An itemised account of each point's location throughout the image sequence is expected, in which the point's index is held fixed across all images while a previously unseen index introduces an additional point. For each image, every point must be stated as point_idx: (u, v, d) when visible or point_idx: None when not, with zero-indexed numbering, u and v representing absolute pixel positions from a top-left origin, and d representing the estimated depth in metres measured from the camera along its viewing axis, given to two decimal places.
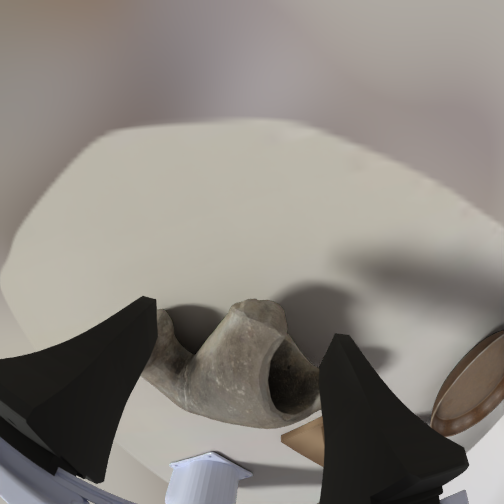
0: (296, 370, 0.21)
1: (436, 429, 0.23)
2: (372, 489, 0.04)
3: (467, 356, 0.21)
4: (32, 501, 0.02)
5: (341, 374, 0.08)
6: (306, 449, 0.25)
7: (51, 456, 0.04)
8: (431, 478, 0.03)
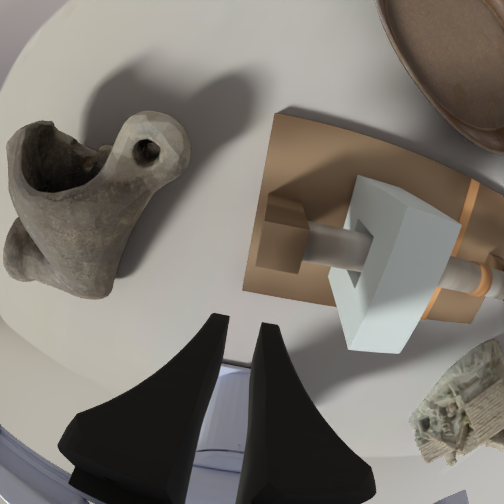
0: None
1: (484, 142, 0.12)
2: (253, 492, 0.04)
3: None
4: (32, 501, 0.02)
5: (258, 364, 0.08)
6: (294, 286, 0.19)
7: None
8: (303, 497, 0.03)
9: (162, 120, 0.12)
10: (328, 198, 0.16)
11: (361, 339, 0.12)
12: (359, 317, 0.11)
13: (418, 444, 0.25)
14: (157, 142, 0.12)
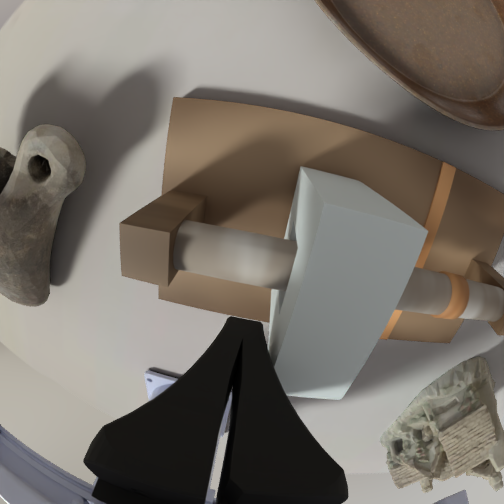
0: None
1: (458, 114, 0.10)
2: (224, 488, 0.04)
3: None
4: (32, 501, 0.02)
5: (239, 361, 0.08)
6: (212, 296, 0.16)
7: None
8: (266, 495, 0.03)
9: (49, 134, 0.09)
10: (239, 192, 0.14)
11: (280, 382, 0.09)
12: (275, 355, 0.09)
13: (389, 467, 0.22)
14: (45, 157, 0.10)
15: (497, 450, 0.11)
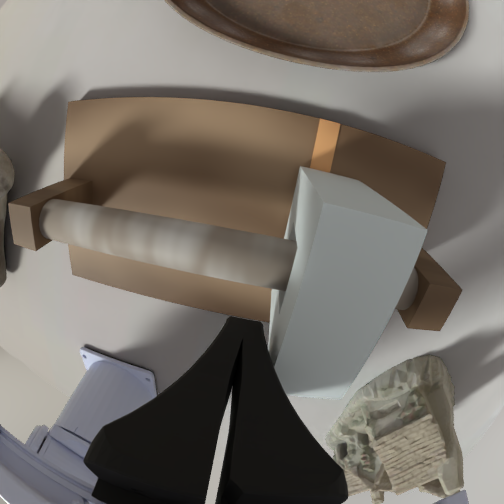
0: None
1: (331, 61, 0.10)
2: (224, 488, 0.04)
3: None
4: (32, 501, 0.02)
5: (239, 361, 0.08)
6: (108, 271, 0.16)
7: None
8: (266, 495, 0.03)
9: None
10: (114, 174, 0.14)
11: (280, 382, 0.09)
12: (275, 355, 0.09)
13: None
14: None
15: (448, 469, 0.11)
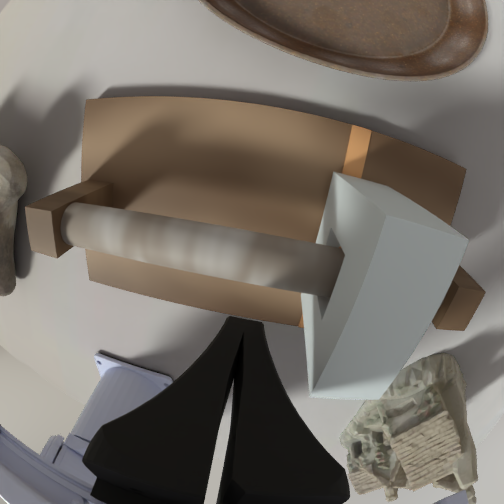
0: None
1: (365, 68, 0.10)
2: (225, 488, 0.04)
3: None
4: (32, 501, 0.02)
5: (240, 361, 0.08)
6: (129, 277, 0.16)
7: None
8: (268, 495, 0.03)
9: None
10: (138, 177, 0.14)
11: (326, 386, 0.09)
12: (322, 361, 0.09)
13: (350, 471, 0.22)
14: None
15: (463, 464, 0.11)
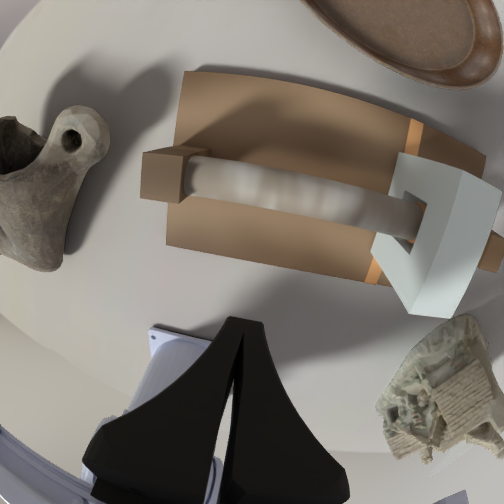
0: None
1: (421, 77, 0.12)
2: (225, 488, 0.04)
3: None
4: (32, 501, 0.02)
5: (240, 361, 0.08)
6: (214, 239, 0.19)
7: None
8: (268, 495, 0.03)
9: (83, 112, 0.12)
10: (238, 144, 0.16)
11: (421, 302, 0.11)
12: (419, 279, 0.11)
13: (386, 437, 0.24)
14: (78, 131, 0.12)
15: (496, 409, 0.13)
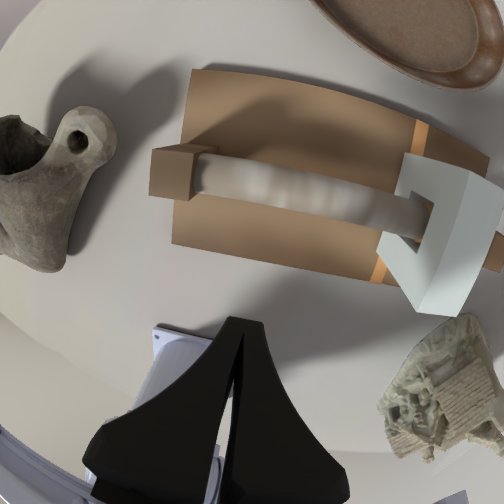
0: None
1: (428, 79, 0.12)
2: (225, 488, 0.04)
3: None
4: (32, 501, 0.02)
5: (240, 361, 0.08)
6: (220, 238, 0.19)
7: None
8: (268, 495, 0.03)
9: (90, 113, 0.12)
10: (246, 142, 0.16)
11: (428, 300, 0.11)
12: (427, 278, 0.11)
13: (388, 436, 0.24)
14: (85, 132, 0.12)
15: (498, 408, 0.13)
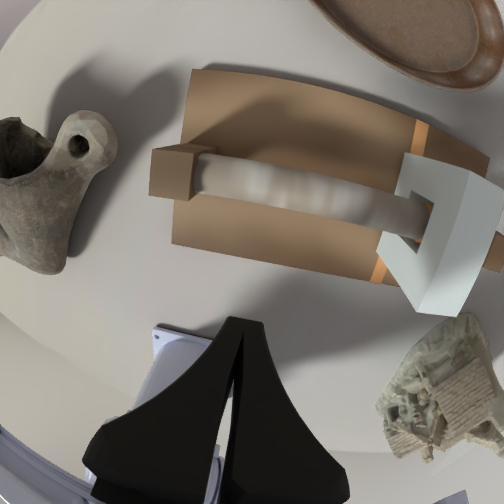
0: None
1: (427, 79, 0.12)
2: (225, 488, 0.04)
3: None
4: (32, 501, 0.02)
5: (240, 361, 0.08)
6: (220, 238, 0.19)
7: None
8: (268, 495, 0.03)
9: (91, 118, 0.12)
10: (246, 142, 0.16)
11: (428, 300, 0.11)
12: (427, 278, 0.11)
13: (387, 436, 0.24)
14: (86, 137, 0.13)
15: (497, 408, 0.13)
